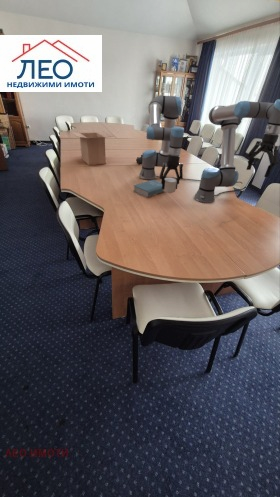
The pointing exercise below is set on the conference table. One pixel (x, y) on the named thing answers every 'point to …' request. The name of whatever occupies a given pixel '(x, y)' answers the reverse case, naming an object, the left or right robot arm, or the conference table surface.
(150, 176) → the left robot arm
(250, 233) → the conference table surface
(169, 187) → the canister
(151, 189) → the book
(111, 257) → the conference table surface
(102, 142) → the box
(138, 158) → the laser sight
